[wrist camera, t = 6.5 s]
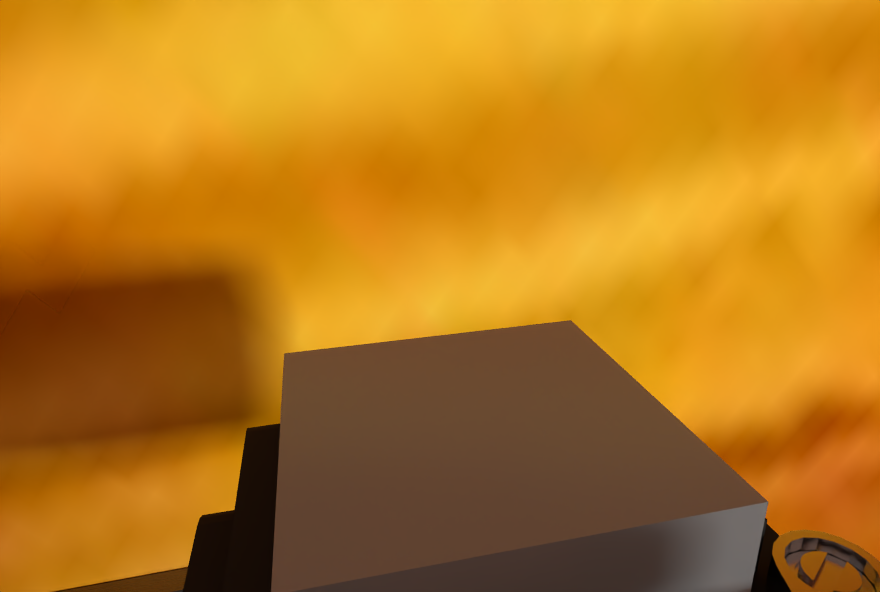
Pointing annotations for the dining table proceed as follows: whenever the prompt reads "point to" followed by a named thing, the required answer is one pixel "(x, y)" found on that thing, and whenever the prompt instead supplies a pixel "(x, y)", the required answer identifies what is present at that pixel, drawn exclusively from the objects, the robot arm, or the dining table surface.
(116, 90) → the dining table surface
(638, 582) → the slate block
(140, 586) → the trapdoor frame
